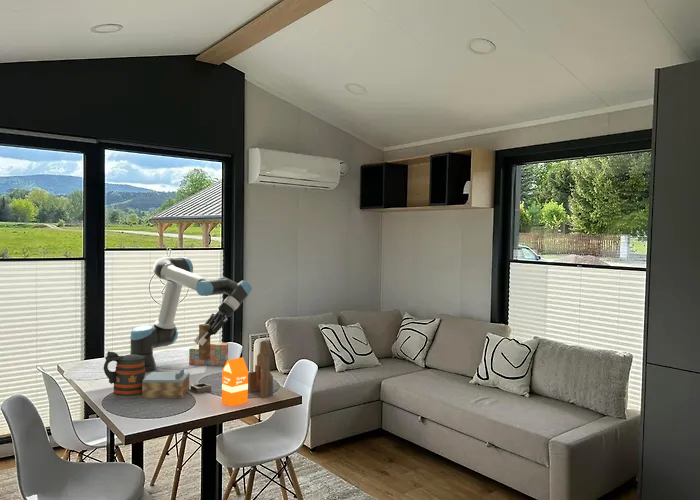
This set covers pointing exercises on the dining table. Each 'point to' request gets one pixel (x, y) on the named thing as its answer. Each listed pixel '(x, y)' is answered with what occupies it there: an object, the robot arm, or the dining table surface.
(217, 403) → the dining table surface
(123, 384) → the beer stein
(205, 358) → the pin
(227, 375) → the orange juice
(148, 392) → the toolbox
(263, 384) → the wooden toy
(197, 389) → the socket
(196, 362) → the stack of blocks
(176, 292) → the robot arm
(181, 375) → the lid
